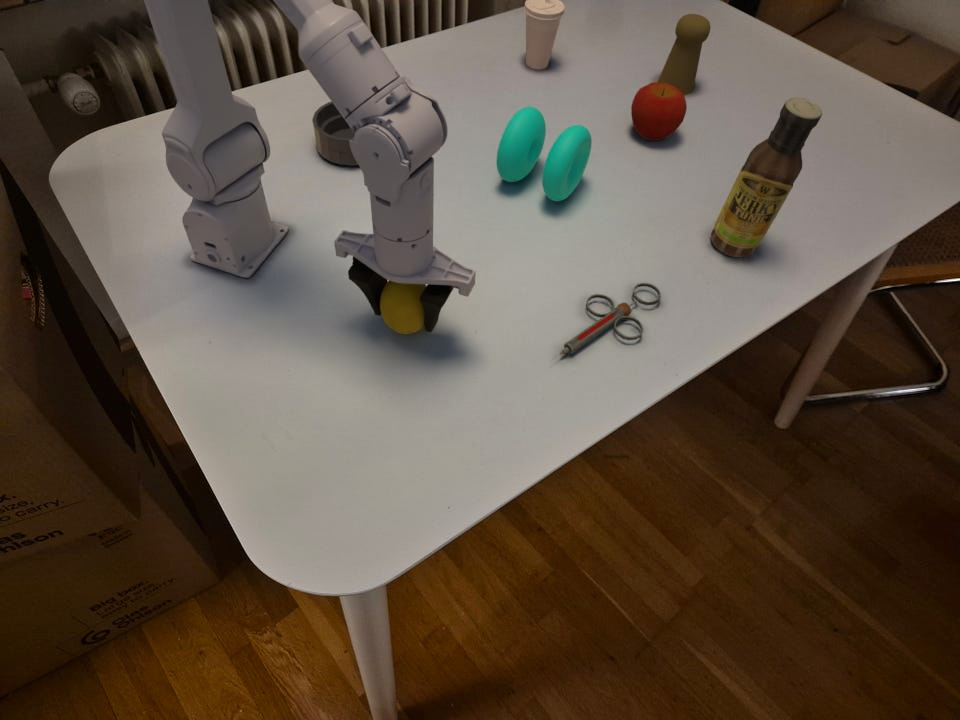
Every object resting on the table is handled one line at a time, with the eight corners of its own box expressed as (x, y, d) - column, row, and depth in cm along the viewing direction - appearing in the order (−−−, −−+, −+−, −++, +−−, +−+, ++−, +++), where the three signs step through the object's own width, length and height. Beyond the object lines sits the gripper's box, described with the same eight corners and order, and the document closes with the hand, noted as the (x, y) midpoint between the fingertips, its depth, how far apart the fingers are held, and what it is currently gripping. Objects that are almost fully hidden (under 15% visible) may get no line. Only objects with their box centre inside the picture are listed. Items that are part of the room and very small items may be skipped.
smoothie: (562, 62, 113) (577, -26, 102) (544, 78, 109) (557, -12, 98) (529, 50, 115) (540, -38, 104) (510, 65, 111) (520, -24, 100)
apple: (686, 144, 100) (703, 96, 94) (641, 153, 98) (655, 105, 92) (659, 116, 105) (674, 69, 98) (616, 124, 102) (628, 76, 96)
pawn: (650, 79, 111) (669, 11, 103) (679, 72, 113) (700, 6, 104) (671, 97, 108) (692, 30, 99) (701, 91, 110) (724, 24, 101)
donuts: (524, 154, 96) (533, 90, 88) (586, 179, 94) (601, 115, 86) (489, 190, 91) (495, 125, 83) (554, 218, 88) (567, 154, 80)
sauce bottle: (703, 250, 86) (765, 111, 70) (714, 222, 90) (775, 83, 74) (753, 267, 85) (827, 128, 69) (761, 238, 88) (834, 99, 72)
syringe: (524, 344, 74) (526, 335, 73) (629, 274, 82) (633, 264, 81) (573, 388, 71) (576, 379, 70) (678, 311, 79) (682, 301, 78)
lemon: (434, 313, 77) (435, 262, 70) (427, 350, 73) (427, 301, 67) (386, 308, 77) (383, 257, 70) (377, 345, 73) (372, 294, 67)
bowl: (369, 175, 91) (366, 147, 88) (304, 157, 93) (299, 128, 89) (399, 137, 97) (398, 109, 93) (337, 120, 99) (334, 91, 95)
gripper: (489, 217, 64) (480, 311, 74) (352, 177, 66) (363, 274, 77) (463, 264, 60) (457, 357, 70) (317, 220, 62) (334, 316, 73)
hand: (406, 317), depth 73 cm, fingers closed on lemon, 5 cm apart
